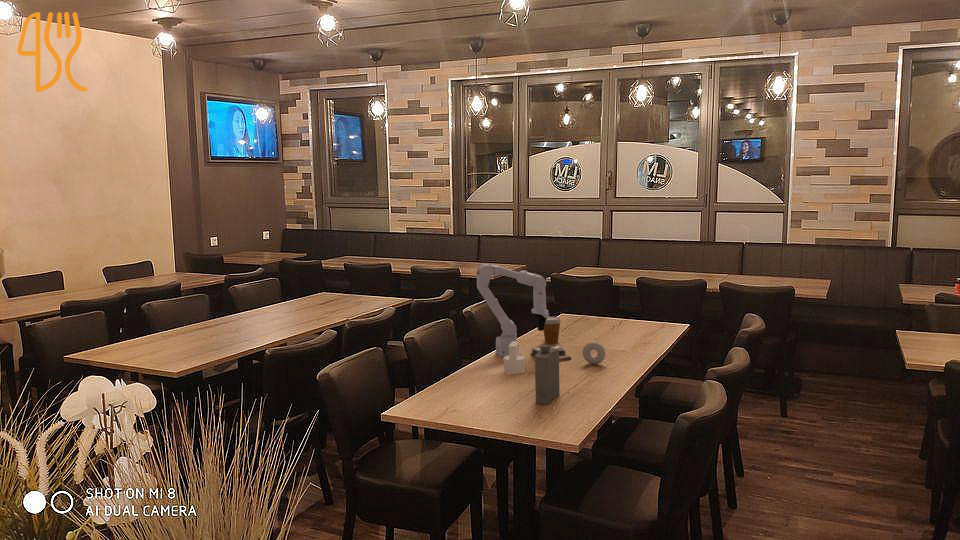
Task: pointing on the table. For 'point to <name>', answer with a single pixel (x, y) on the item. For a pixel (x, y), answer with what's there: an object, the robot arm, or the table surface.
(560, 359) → the dark brown cabinet frame
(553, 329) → the disposable coffee cup
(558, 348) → the tile two
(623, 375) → the table surface
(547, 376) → the flask
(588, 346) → the donut
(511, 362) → the cylinder with rectangular tab
